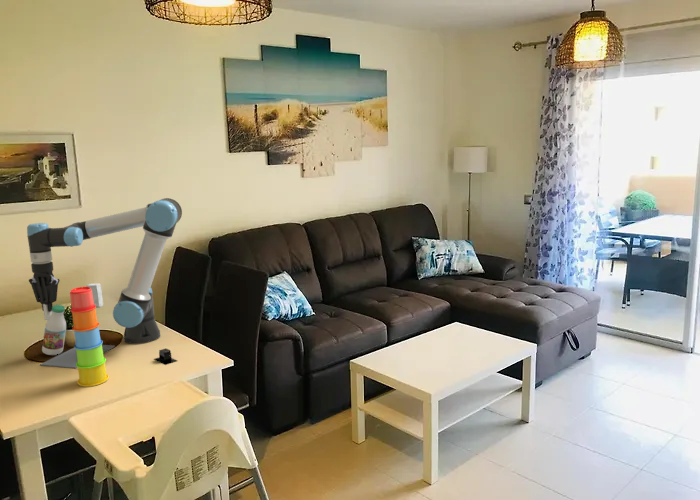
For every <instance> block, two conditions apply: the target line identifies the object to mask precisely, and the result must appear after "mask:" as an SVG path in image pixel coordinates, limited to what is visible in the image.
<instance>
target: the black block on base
mask: <svg viewBox="0 0 700 500" xmlns="http://www.w3.org/2000/svg"><path fill="white" fill-rule="evenodd" d="M158 355H159V356H158V357H157V358H154V359H153V360H155V361H156V362H158V363H159V364H162V365H165V366H167V365H170V364H173V363H176V362H178V360H177V359H175V358H173V357H172V352H171V350H170V349H168V348H163V349H159V351H158Z"/></svg>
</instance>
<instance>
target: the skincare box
mask: <svg viewBox="0 0 700 500" xmlns="http://www.w3.org/2000/svg"><path fill="white" fill-rule="evenodd" d="M85 287H90V289H91V290H92V295H93V301H94V305H96V308H101V307H103V306H104V298H103V293H102V285H101V283H88V284H86V286H85Z"/></svg>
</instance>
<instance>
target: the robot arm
mask: <svg viewBox="0 0 700 500" xmlns="http://www.w3.org/2000/svg"><path fill="white" fill-rule="evenodd" d="M182 215H183V209H182V207H181V205H180V203H179V202H177V200H174V199H172V198H168V197H166V198H161V199H159V200H155V201H154V202H152V203H148V204H147V205H146V206H144V207H141V208H136V209H132V210H129V211H124V212H120V213H116V214H110V215H107V216H102V217H98V218H93V219H89V220H86V221H80V222H79V221H78V222H74V223H72V224H70V225H67V226H64V227H52V228H51V227H49V224H48V223H45V222H37V223H30V224H28V225H27V226H26V234H27V236H26V237H27V242H28V247H29V248H28V249H29V257H30V262H31V265H30V266H31V272H32V274H33V275H32V277H31V278H29V279H28V282H29V284H30V285H31V289H32V290H33V291H32V292H33V294H34V297H35V300H36V302H37V303H40V304H41V310H42V311H43V315H44V321H48V319H49V318H50V316H51V314H52V307H53V306H54V305H53V303H55V302H57V301H58V300H57V299H58V298H57V297H58V286H59V283H60V281H61V280H60V278H56V277H55V276H54V273H53V272H54V263H53V261H52V260H53V254H52V249H51V248H59V247H72V248H73V247H77V246H81V245H82V244H83V241H85V240H86V241H87V240H90V239H93V238H97V237H102V236H106V235H111V234H114V233H115V234H116V233H120V232H124V231H128V230H129V231H130V230H133V229H137V228H141V227H142V229H143V231H144V236H143V239H142V241H141V242H142V243H141V244H140V249H139V251H138V255H137V257H136V260H135V263H134V266H133V269H132V272H131V275H130V278H129V280H128V284H127V286H126V287H125V288H123V289H122V290H121V293H120V296H119V298H118V301H117V303H116V304H115V306H114V307H113V310H112V316H113V320H114V321H115V322H116V324H117V325H119V326H120V327H124V328H125V329H124V333H123V342H125V343H127V344H145V343H150V342H154V341H157V340H158V339H159V338H160V337H161V331H160V328H159V326H158V324H157V322H156V319H155V307H154V296H153V294H154V293H153V289H152V287H151V286H152V284H153V281H154V278H155V275H156V272H157V270H158V267H159V264H160V261H161V258H162V254H163V252H164V248H165V246H166V243H167V240H168V239H170V238H172V237H173V233H175V229H176V225H177V223H179V222H180V220H181V218H182V217H183V216H182Z"/></svg>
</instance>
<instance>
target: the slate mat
mask: <svg viewBox="0 0 700 500" xmlns="http://www.w3.org/2000/svg"><path fill="white" fill-rule="evenodd" d="M115 347H116V345H111V344H109V345H108V344H102V350H103V354H105V353H106V352H108V351H110V350H112V349H115ZM77 362H78V361H77V352H76V349H75V348H74V347H73V348H70V349H67V350H66V351H64V352H62V353H60V354H58V355H55V356H54V357H52V358H50V359H48V360H46V361H44V362H42V363H40V364H39V366H41V367H53V368H54V367H55V368H64V369H78V367H77V366H76V363H77Z"/></svg>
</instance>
